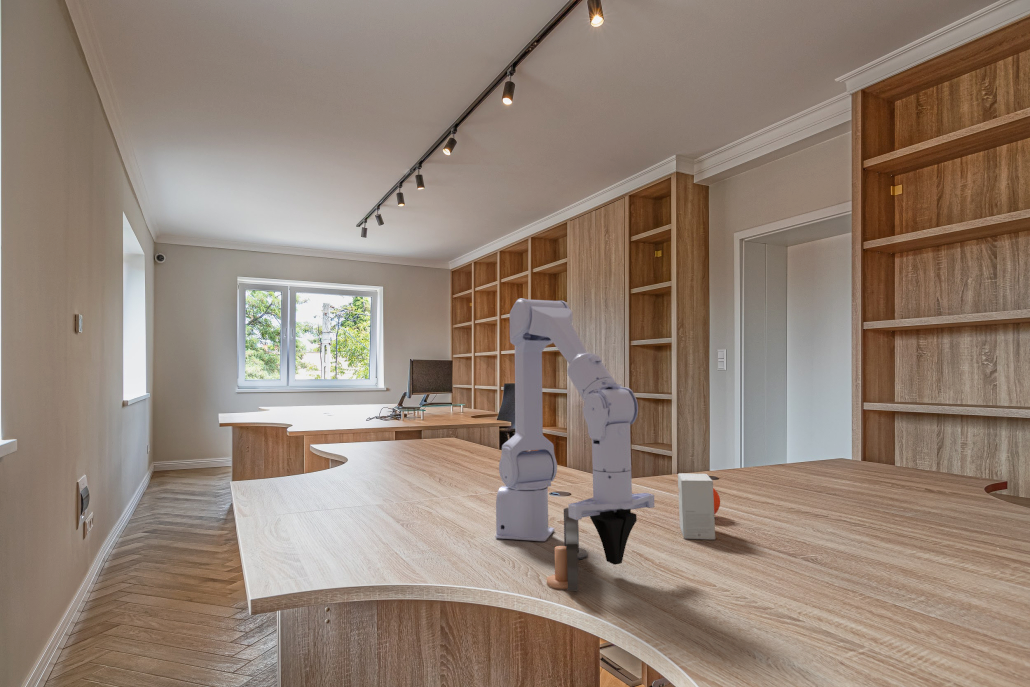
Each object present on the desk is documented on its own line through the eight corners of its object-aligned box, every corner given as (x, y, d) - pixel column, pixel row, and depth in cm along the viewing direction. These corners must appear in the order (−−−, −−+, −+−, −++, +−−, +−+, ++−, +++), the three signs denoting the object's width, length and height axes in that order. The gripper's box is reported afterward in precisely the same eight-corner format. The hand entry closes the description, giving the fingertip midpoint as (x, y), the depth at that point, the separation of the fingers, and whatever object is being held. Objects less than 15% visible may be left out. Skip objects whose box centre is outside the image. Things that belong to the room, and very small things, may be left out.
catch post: (543, 587, 80) (543, 551, 81) (550, 576, 85) (550, 542, 85) (574, 590, 79) (573, 553, 79) (580, 579, 83) (579, 544, 84)
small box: (715, 540, 102) (713, 480, 102) (683, 539, 103) (681, 480, 103) (709, 528, 109) (707, 473, 110) (679, 527, 111) (677, 472, 111)
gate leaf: (566, 555, 93) (566, 516, 93) (576, 555, 92) (576, 516, 93) (567, 590, 78) (566, 544, 78) (579, 590, 77) (578, 544, 78)
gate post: (553, 558, 93) (552, 512, 93) (560, 549, 98) (559, 505, 98) (584, 561, 91) (583, 513, 92) (589, 551, 96) (588, 506, 97)
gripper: (587, 478, 78) (590, 579, 78) (667, 468, 85) (670, 561, 85) (559, 471, 85) (561, 564, 84) (636, 462, 92) (638, 549, 91)
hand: (614, 562), depth 85 cm, fingers closed
